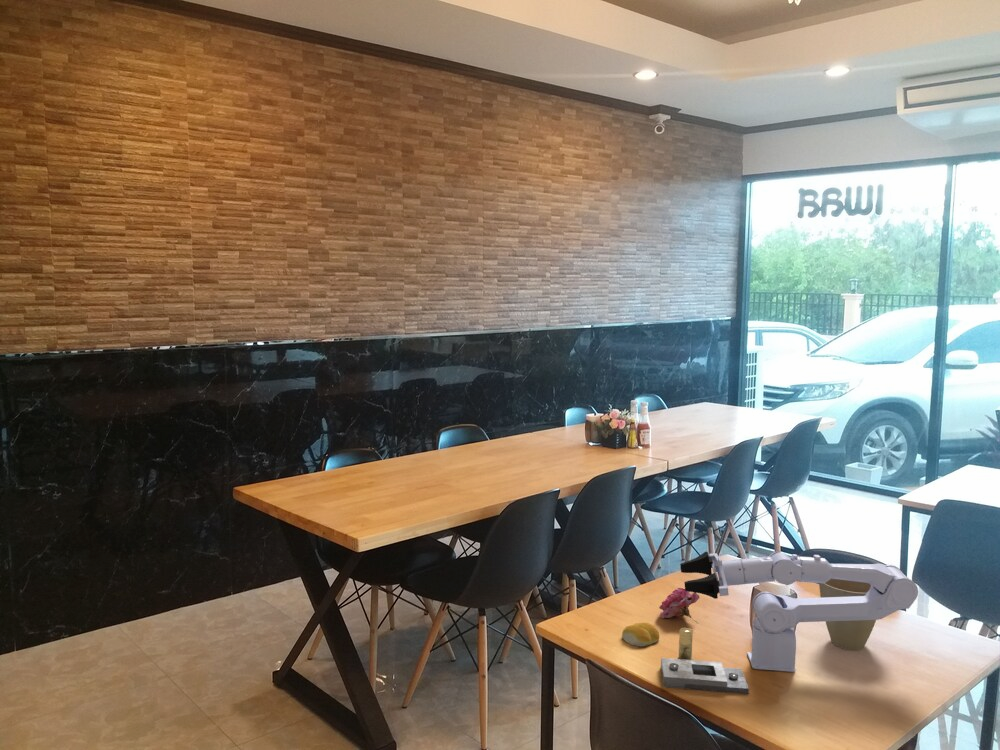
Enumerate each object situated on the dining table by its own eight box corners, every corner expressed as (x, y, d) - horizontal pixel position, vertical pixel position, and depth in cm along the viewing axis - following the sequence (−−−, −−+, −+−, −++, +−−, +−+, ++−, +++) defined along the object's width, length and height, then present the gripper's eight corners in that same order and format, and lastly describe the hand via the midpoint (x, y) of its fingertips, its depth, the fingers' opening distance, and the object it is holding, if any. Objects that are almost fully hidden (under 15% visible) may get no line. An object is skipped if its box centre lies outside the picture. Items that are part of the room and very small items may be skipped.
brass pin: (690, 656, 183) (691, 628, 182) (692, 662, 180) (693, 633, 179) (678, 655, 183) (679, 627, 183) (679, 661, 180) (680, 632, 180)
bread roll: (665, 641, 191) (666, 625, 191) (639, 650, 186) (640, 634, 186) (641, 629, 198) (641, 614, 198) (616, 637, 193) (616, 622, 193)
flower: (654, 629, 206) (649, 591, 211) (689, 629, 208) (683, 592, 213) (671, 619, 196) (666, 580, 201) (707, 620, 198) (701, 581, 203)
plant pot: (894, 653, 186) (899, 589, 184) (845, 661, 182) (848, 596, 180) (849, 627, 200) (853, 568, 199) (802, 634, 196) (805, 574, 194)
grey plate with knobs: (741, 673, 175) (741, 661, 174) (748, 694, 166) (749, 680, 165) (660, 667, 177) (661, 655, 177) (663, 687, 168) (664, 674, 168)
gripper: (734, 540, 184) (677, 545, 186) (747, 574, 171) (685, 580, 173) (736, 565, 186) (680, 570, 188) (749, 601, 173) (688, 606, 175)
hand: (682, 577), depth 181 cm, fingers open, 7 cm apart
